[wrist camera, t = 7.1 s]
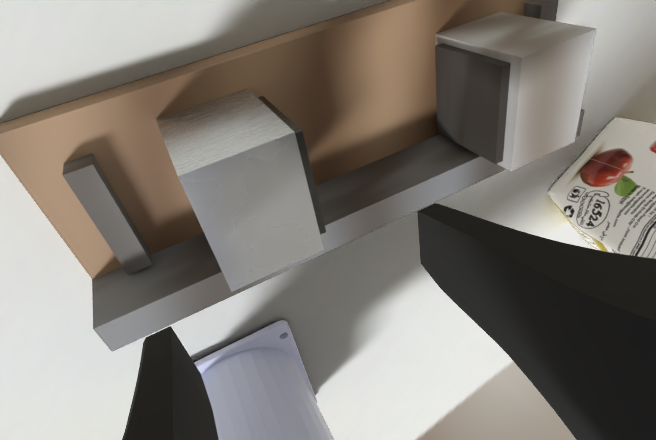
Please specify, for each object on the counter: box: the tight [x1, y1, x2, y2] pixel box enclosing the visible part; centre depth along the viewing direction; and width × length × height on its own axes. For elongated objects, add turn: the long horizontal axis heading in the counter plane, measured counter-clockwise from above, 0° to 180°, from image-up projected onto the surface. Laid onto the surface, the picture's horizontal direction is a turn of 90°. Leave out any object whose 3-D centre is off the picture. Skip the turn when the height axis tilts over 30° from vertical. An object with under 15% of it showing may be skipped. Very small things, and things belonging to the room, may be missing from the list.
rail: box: [0, 0, 596, 351], centre depth 18 cm, size 24×8×6 cm, turn 102°
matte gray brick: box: [156, 88, 326, 292], centre depth 16 cm, size 5×4×5 cm
